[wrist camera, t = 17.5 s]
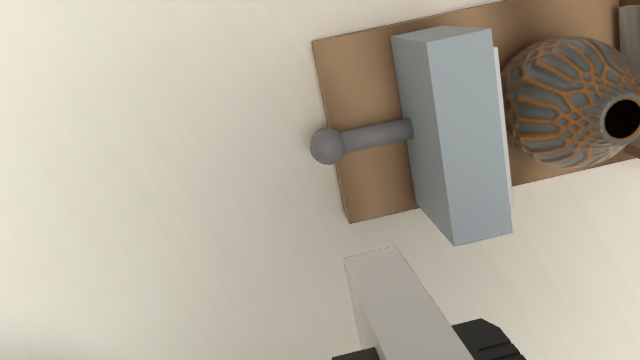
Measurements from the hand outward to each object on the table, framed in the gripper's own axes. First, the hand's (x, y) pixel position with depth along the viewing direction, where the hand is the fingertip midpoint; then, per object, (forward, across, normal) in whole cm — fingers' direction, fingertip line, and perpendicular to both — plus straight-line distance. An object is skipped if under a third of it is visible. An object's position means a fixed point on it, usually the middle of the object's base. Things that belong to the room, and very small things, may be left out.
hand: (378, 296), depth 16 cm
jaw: (+18, +5, +1) cm, 19 cm away
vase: (+18, +14, 0) cm, 23 cm away
